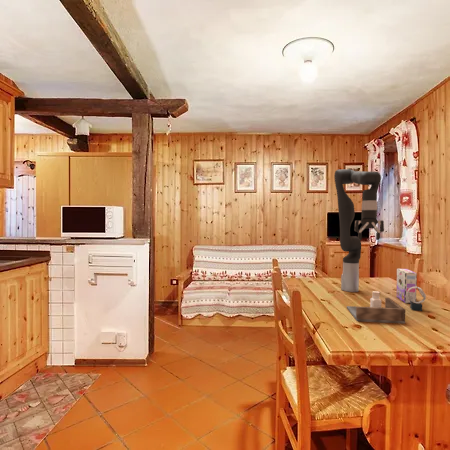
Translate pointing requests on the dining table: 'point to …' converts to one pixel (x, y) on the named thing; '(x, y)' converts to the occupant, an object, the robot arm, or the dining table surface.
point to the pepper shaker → (375, 299)
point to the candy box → (406, 285)
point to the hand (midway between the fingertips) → (368, 239)
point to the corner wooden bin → (379, 313)
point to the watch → (416, 305)
